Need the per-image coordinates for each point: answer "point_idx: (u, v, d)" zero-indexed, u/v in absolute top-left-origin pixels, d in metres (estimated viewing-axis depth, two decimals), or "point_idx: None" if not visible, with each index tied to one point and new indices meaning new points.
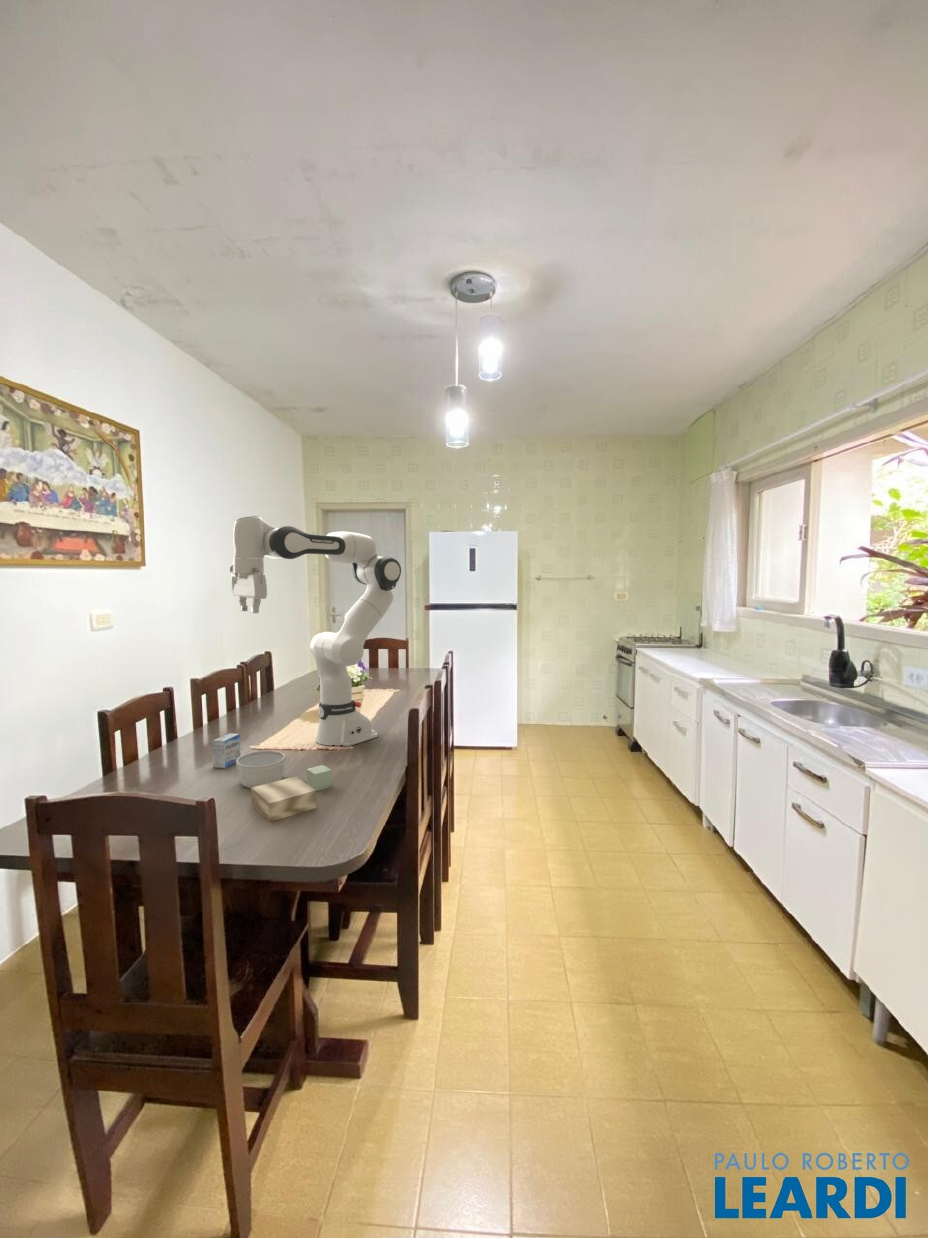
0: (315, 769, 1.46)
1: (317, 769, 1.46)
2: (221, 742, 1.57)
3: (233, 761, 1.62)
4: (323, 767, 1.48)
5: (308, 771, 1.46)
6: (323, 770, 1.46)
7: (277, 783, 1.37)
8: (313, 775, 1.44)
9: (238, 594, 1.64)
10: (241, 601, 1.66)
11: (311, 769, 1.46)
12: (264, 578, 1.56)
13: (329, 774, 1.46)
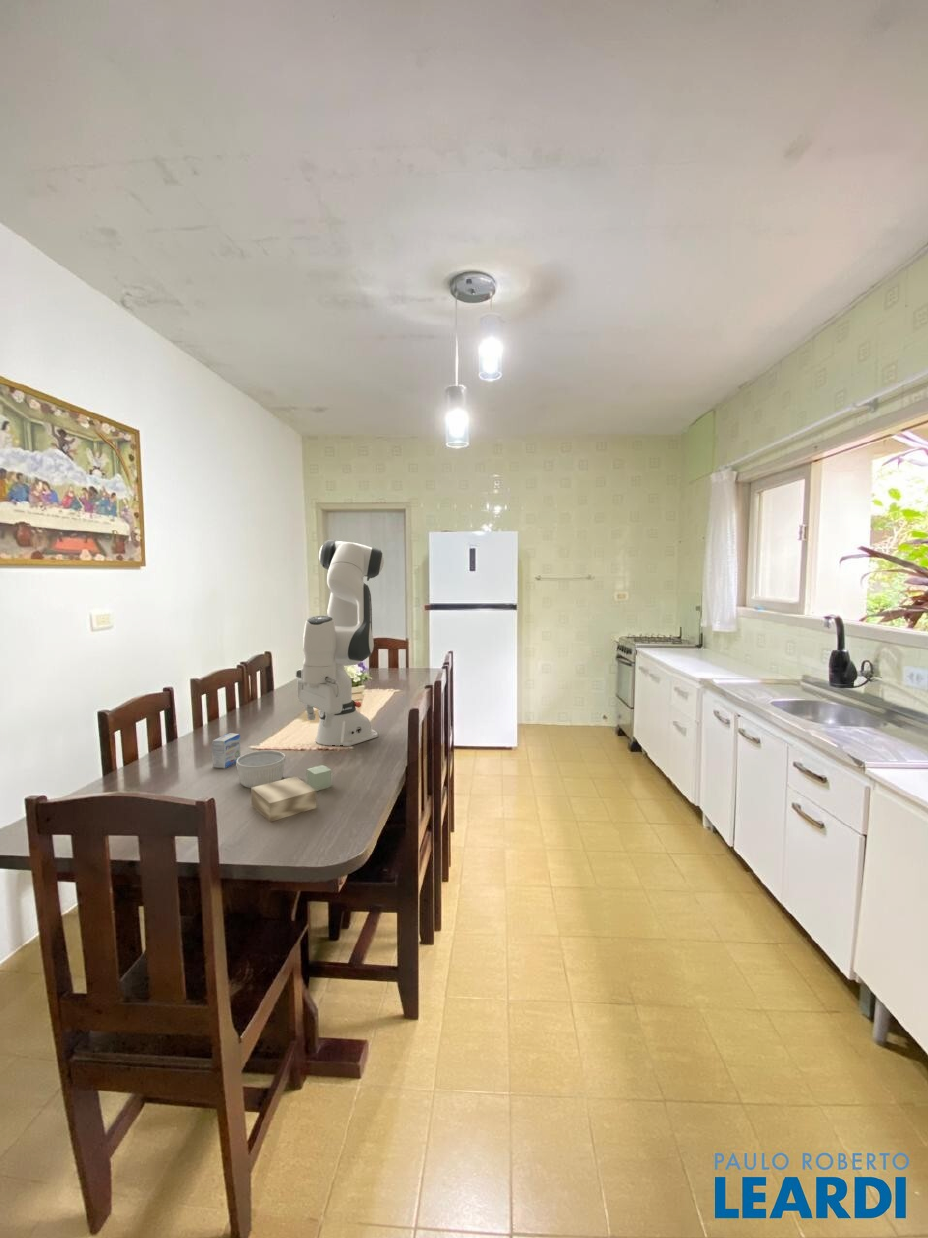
0: (315, 769, 1.46)
1: (317, 769, 1.46)
2: (221, 742, 1.57)
3: (233, 761, 1.62)
4: (323, 767, 1.48)
5: (308, 771, 1.46)
6: (323, 770, 1.46)
7: (277, 783, 1.37)
8: (313, 775, 1.44)
9: (306, 702, 1.47)
10: (308, 708, 1.49)
11: (311, 769, 1.46)
12: (339, 690, 1.38)
13: (329, 774, 1.46)
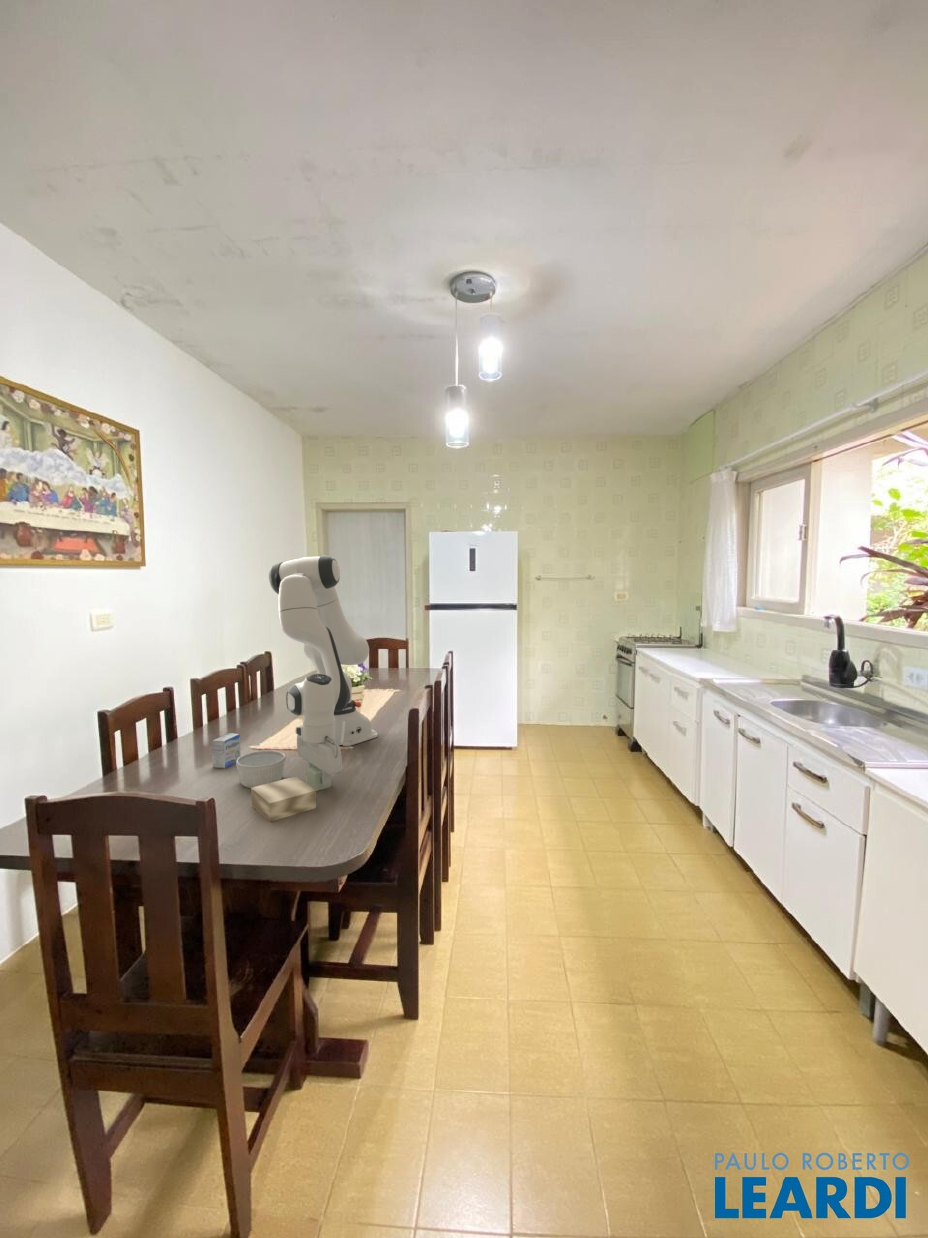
0: (315, 769, 1.46)
1: (317, 769, 1.46)
2: (221, 742, 1.57)
3: (233, 761, 1.62)
4: None
5: (308, 771, 1.46)
6: None
7: (277, 783, 1.37)
8: (313, 775, 1.44)
9: (306, 759, 1.48)
10: (311, 766, 1.49)
11: (311, 769, 1.46)
12: (339, 751, 1.40)
13: None
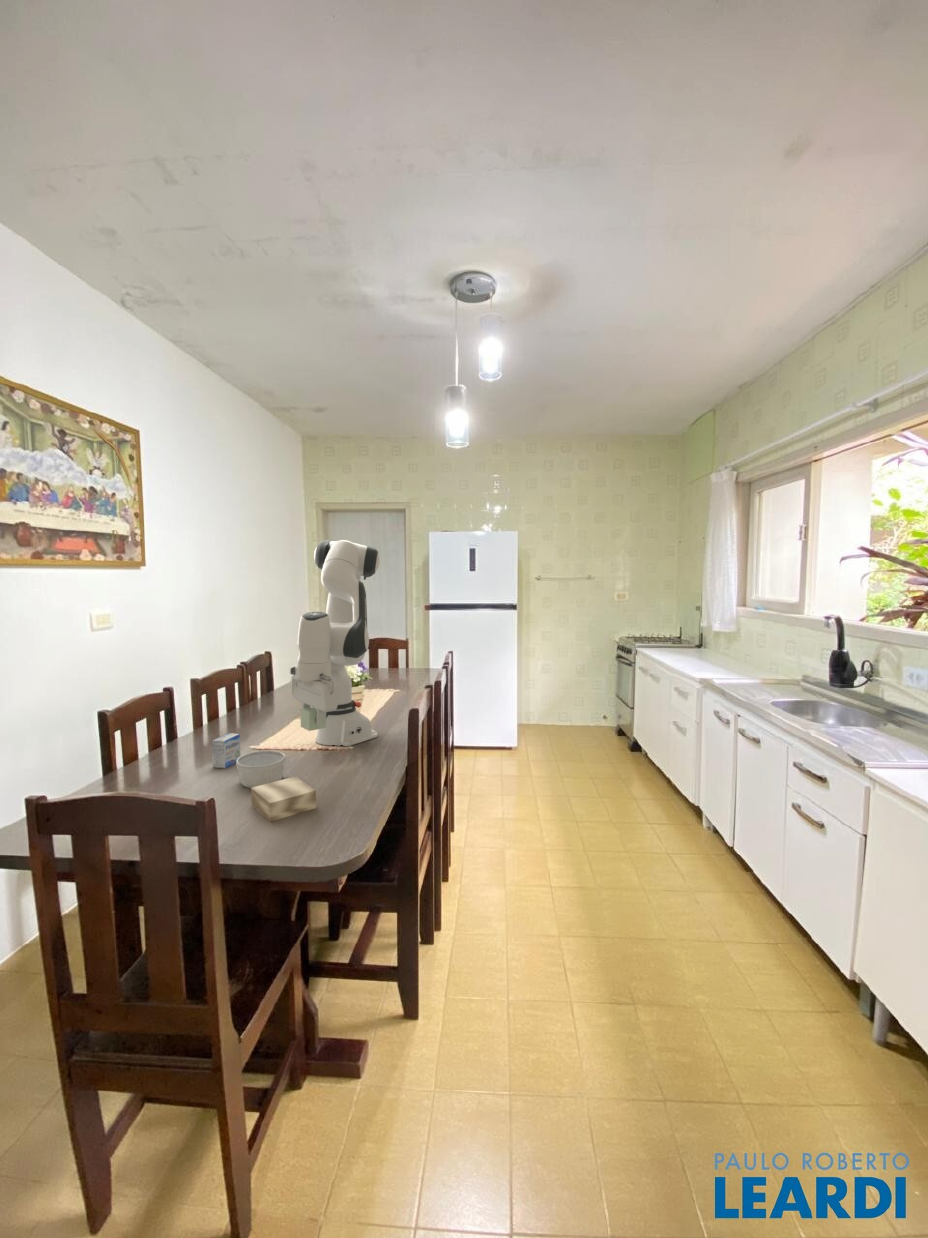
0: (309, 709, 1.42)
1: (311, 709, 1.42)
2: (221, 742, 1.57)
3: (233, 761, 1.62)
4: None
5: (302, 711, 1.41)
6: None
7: (277, 783, 1.37)
8: (307, 714, 1.39)
9: (300, 699, 1.44)
10: (305, 707, 1.45)
11: (305, 709, 1.42)
12: (334, 687, 1.36)
13: None
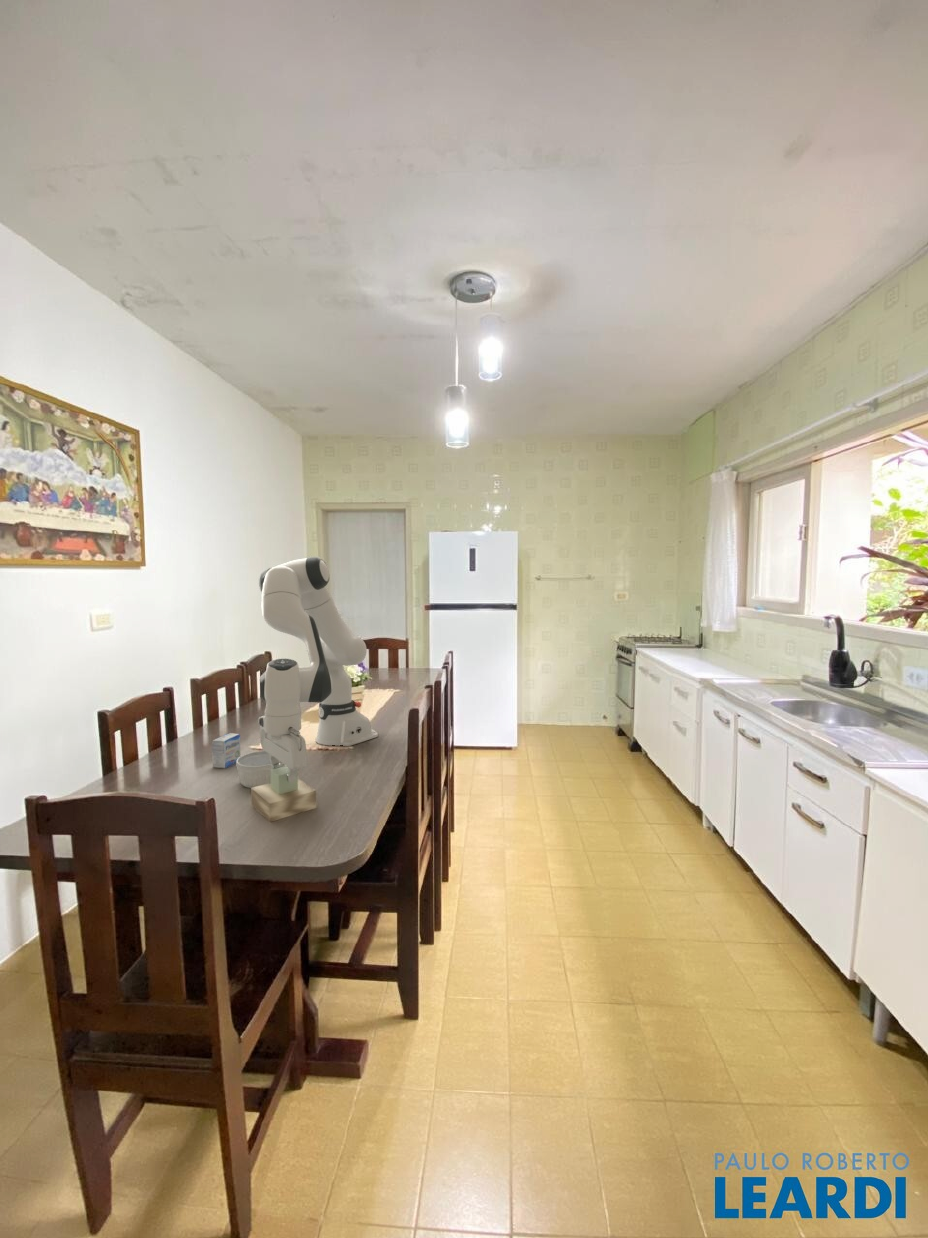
0: (280, 770, 1.33)
1: (281, 770, 1.33)
2: (221, 742, 1.57)
3: (233, 761, 1.62)
4: None
5: (272, 772, 1.32)
6: (288, 771, 1.32)
7: None
8: (277, 776, 1.30)
9: (269, 752, 1.34)
10: (272, 758, 1.36)
11: (275, 770, 1.33)
12: (304, 743, 1.26)
13: None
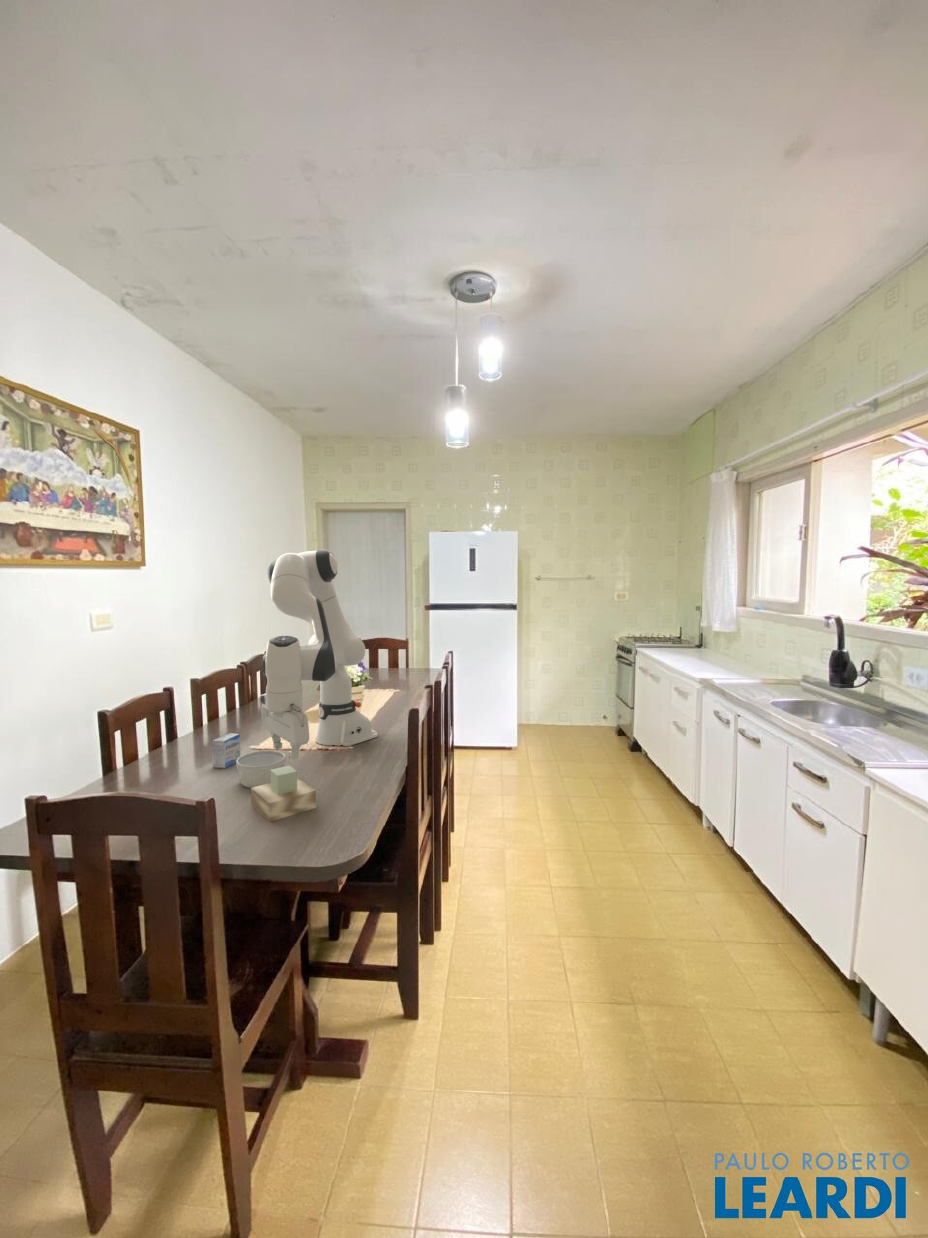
0: (279, 770, 1.33)
1: (281, 770, 1.33)
2: (221, 742, 1.57)
3: (233, 761, 1.62)
4: (289, 768, 1.34)
5: (272, 772, 1.32)
6: (288, 771, 1.32)
7: None
8: (276, 777, 1.30)
9: (271, 730, 1.34)
10: (274, 736, 1.36)
11: (275, 770, 1.33)
12: (306, 719, 1.26)
13: (294, 776, 1.32)
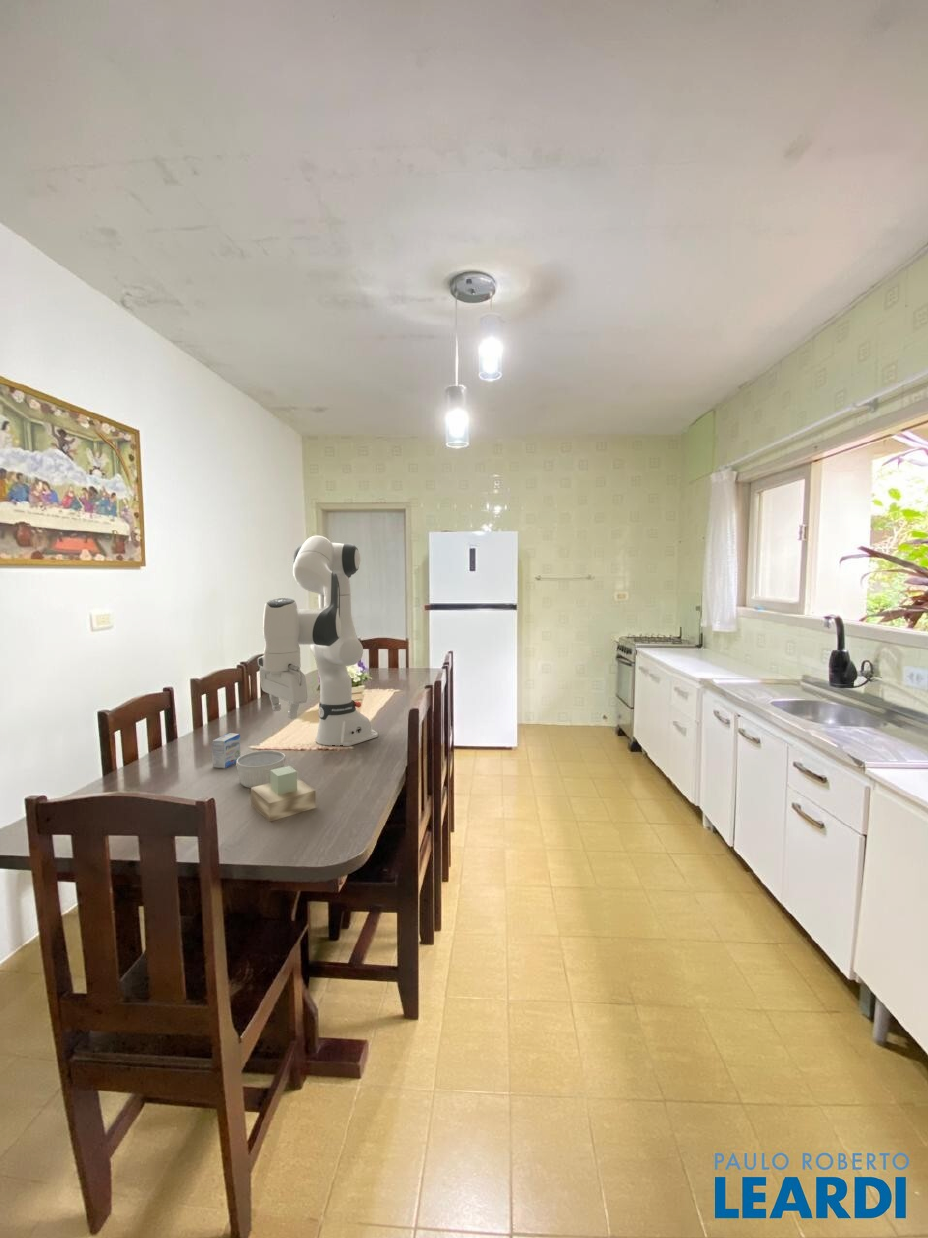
0: (279, 770, 1.32)
1: (281, 770, 1.32)
2: (221, 742, 1.57)
3: (233, 761, 1.62)
4: (289, 768, 1.34)
5: (272, 772, 1.32)
6: (288, 772, 1.32)
7: None
8: (276, 777, 1.30)
9: (269, 692, 1.36)
10: (273, 699, 1.38)
11: (275, 770, 1.32)
12: (304, 678, 1.28)
13: (294, 776, 1.32)
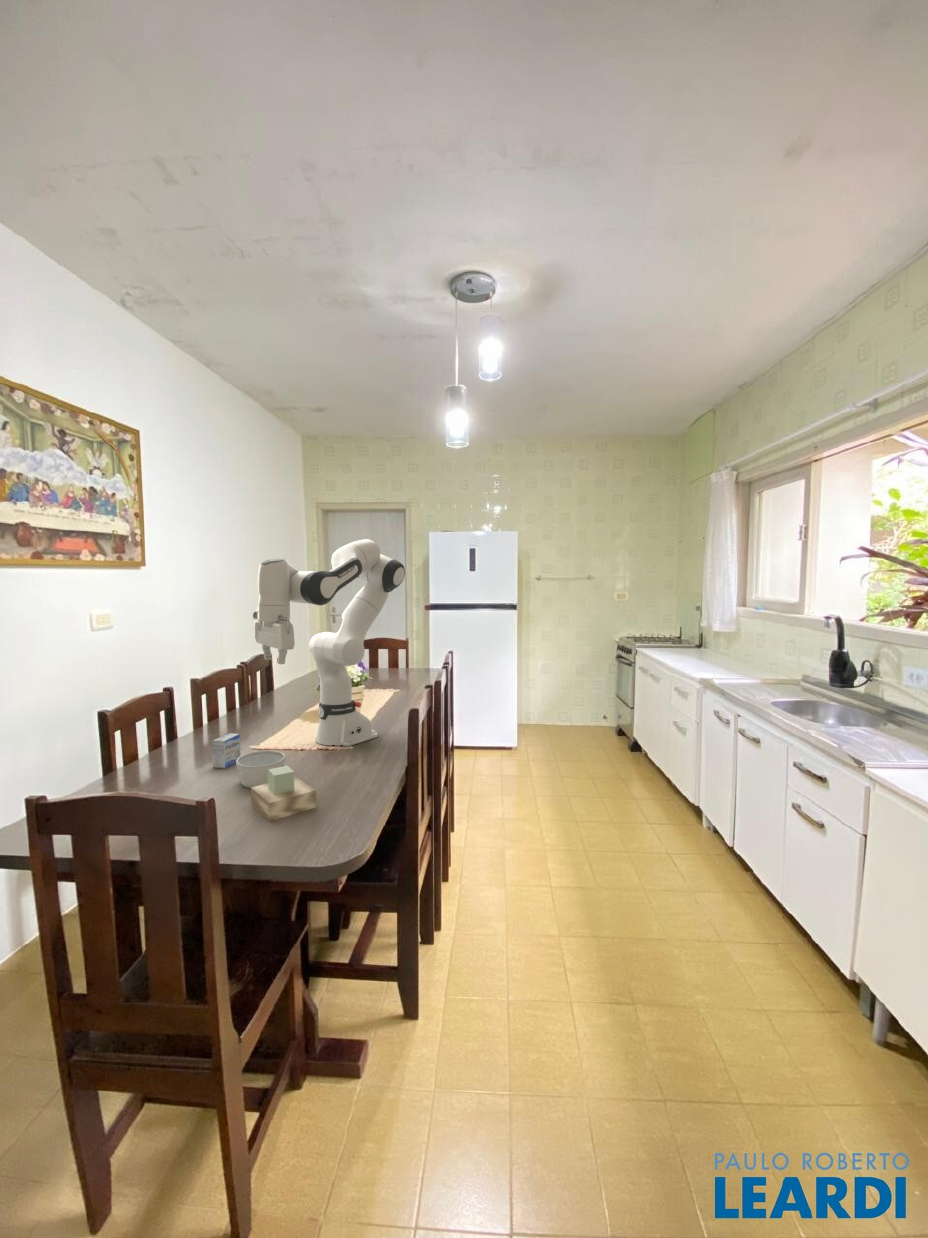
0: (277, 770, 1.33)
1: (279, 770, 1.33)
2: (221, 742, 1.57)
3: (233, 761, 1.62)
4: (286, 768, 1.34)
5: (269, 772, 1.32)
6: (285, 771, 1.32)
7: None
8: (273, 777, 1.30)
9: (262, 642, 1.53)
10: (265, 649, 1.55)
11: (273, 770, 1.33)
12: (291, 627, 1.45)
13: (291, 776, 1.32)
